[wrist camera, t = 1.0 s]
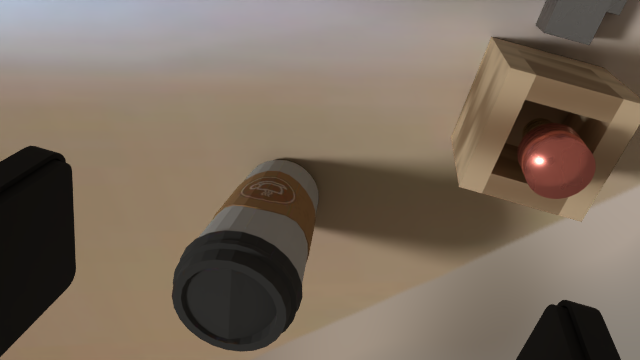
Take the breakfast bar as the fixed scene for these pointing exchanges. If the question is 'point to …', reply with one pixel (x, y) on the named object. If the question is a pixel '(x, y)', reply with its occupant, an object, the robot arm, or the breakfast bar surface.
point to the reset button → (554, 159)
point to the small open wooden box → (532, 103)
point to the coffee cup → (250, 260)
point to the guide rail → (576, 17)
